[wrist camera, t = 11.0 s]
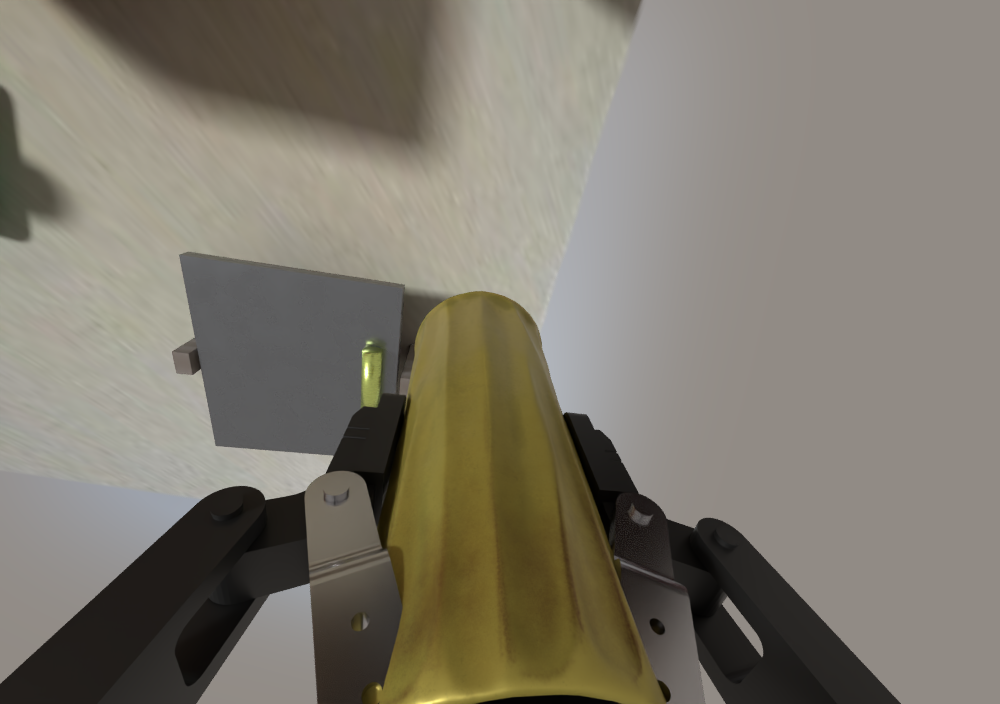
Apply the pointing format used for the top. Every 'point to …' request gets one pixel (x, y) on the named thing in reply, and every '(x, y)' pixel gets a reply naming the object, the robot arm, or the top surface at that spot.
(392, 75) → the top surface
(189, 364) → the levelling stand
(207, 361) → the tilt plate
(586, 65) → the top surface
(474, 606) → the vase
